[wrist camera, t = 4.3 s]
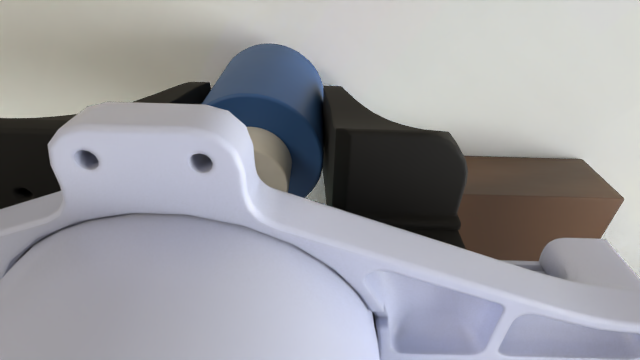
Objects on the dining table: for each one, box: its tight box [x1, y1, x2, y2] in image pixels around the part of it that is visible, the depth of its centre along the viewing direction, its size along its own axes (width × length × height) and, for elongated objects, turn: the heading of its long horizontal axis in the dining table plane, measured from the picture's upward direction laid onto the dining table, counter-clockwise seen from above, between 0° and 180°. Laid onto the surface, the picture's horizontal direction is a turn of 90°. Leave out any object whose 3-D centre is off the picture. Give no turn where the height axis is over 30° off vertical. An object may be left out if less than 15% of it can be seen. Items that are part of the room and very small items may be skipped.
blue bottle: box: [202, 44, 324, 198], centre depth 12 cm, size 4×4×6 cm
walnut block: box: [457, 156, 624, 261], centre depth 18 cm, size 8×8×3 cm
